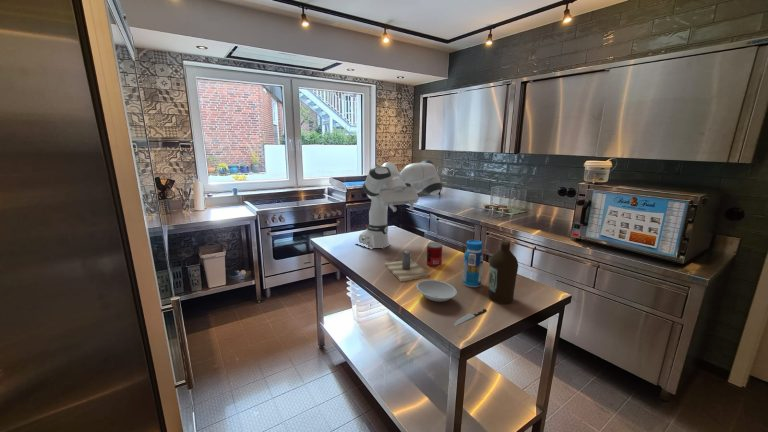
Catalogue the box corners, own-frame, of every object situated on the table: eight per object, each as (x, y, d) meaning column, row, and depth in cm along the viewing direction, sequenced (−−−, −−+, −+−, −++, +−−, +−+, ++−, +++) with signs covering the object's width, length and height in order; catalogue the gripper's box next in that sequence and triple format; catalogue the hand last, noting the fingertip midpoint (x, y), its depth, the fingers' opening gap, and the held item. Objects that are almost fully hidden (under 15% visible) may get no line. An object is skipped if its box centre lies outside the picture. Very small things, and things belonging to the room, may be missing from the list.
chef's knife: (445, 325, 106) (451, 328, 104) (445, 322, 106) (451, 325, 104) (480, 308, 117) (487, 311, 114) (480, 305, 116) (487, 308, 114)
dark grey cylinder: (405, 270, 147) (405, 253, 145) (400, 267, 151) (401, 250, 149) (411, 269, 149) (411, 252, 147) (407, 266, 153) (407, 249, 150)
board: (384, 266, 157) (384, 263, 156) (410, 261, 162) (410, 259, 162) (400, 281, 139) (400, 278, 138) (429, 276, 144) (429, 273, 144)
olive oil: (507, 292, 128) (513, 236, 123) (519, 304, 118) (525, 244, 112) (483, 292, 128) (487, 236, 122) (492, 305, 118) (497, 245, 112)
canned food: (444, 263, 159) (445, 244, 157) (435, 268, 154) (436, 247, 151) (432, 260, 164) (432, 241, 162) (423, 264, 159) (424, 244, 156)
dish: (464, 301, 121) (464, 290, 120) (441, 314, 112) (441, 302, 111) (431, 286, 134) (431, 276, 133) (408, 296, 125) (408, 285, 124)
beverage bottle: (458, 281, 139) (460, 240, 134) (473, 278, 142) (475, 238, 137) (470, 289, 131) (473, 246, 126) (485, 285, 134) (488, 243, 130)
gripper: (379, 186, 152) (386, 208, 146) (415, 183, 159) (423, 205, 153) (376, 193, 157) (383, 215, 151) (411, 191, 164) (419, 212, 158)
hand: (403, 210), depth 152 cm, fingers open, 8 cm apart
